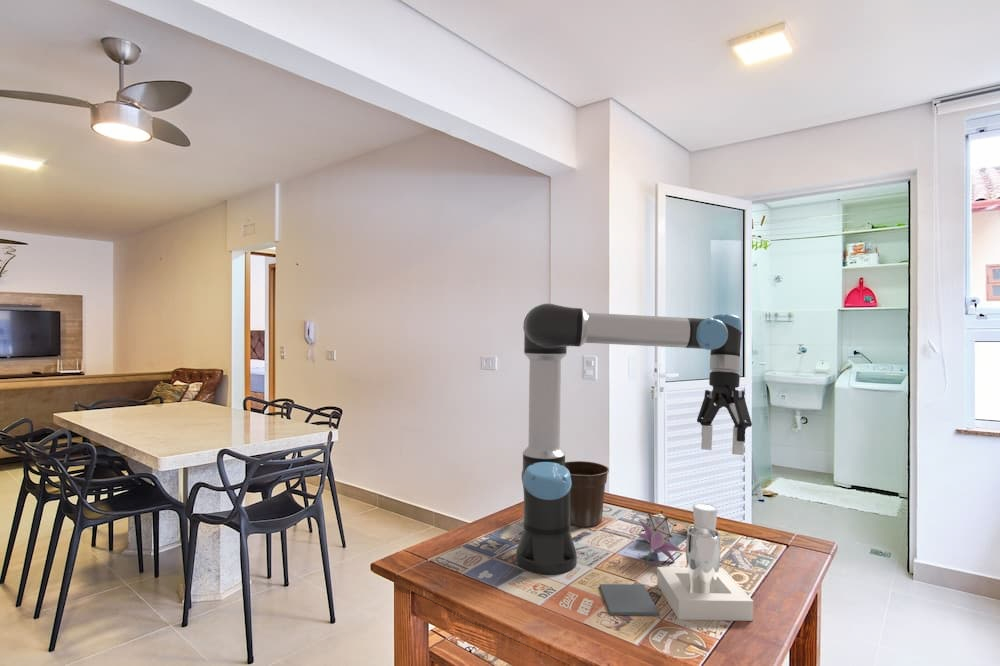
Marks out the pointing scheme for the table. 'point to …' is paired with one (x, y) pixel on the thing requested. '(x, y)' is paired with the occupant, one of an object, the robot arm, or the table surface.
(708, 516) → the white short tapered cylinder
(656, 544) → the lily
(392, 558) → the table surface
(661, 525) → the game die
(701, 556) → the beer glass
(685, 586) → the board
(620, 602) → the slate coaster
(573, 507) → the plant pot
